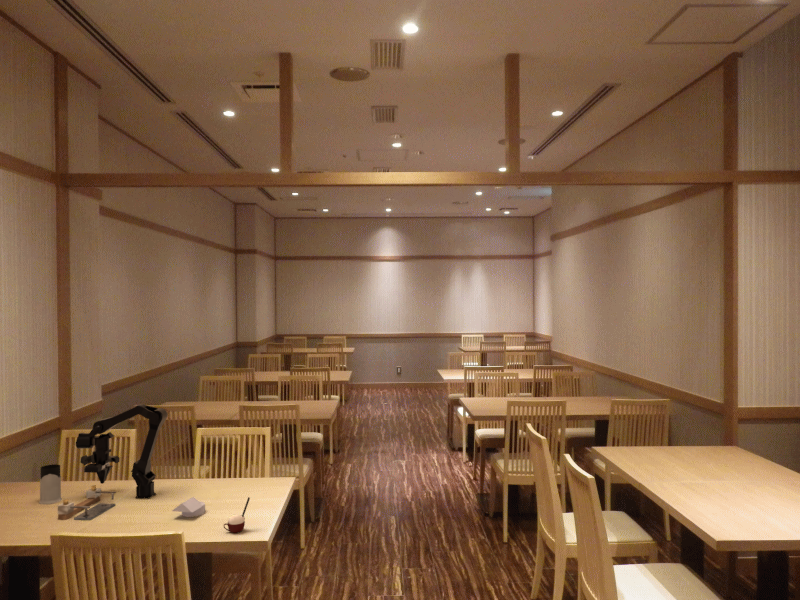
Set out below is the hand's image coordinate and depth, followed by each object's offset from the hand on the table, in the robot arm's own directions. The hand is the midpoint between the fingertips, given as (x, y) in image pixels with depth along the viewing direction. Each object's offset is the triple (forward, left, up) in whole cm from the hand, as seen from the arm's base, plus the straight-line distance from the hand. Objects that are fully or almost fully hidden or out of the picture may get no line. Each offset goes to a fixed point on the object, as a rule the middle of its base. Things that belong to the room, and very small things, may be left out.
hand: (102, 483), depth 271 cm
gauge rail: (-4, +16, -6) cm, 18 cm away
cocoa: (-74, +37, -6) cm, 83 cm away
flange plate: (-8, +20, -6) cm, 22 cm away
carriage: (-4, +7, -5) cm, 9 cm away
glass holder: (+21, +4, -6) cm, 22 cm away
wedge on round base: (-49, +20, -6) cm, 53 cm away
